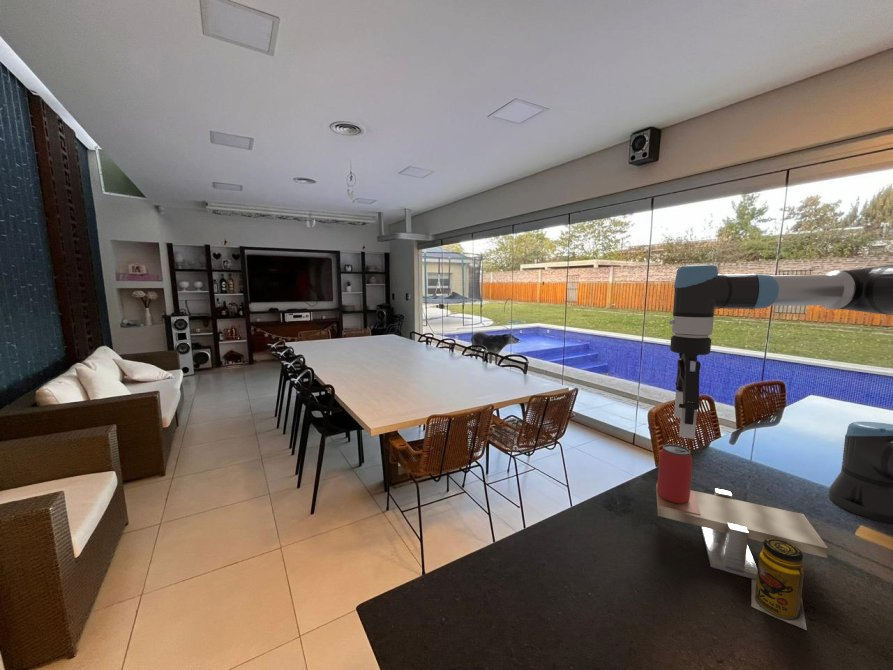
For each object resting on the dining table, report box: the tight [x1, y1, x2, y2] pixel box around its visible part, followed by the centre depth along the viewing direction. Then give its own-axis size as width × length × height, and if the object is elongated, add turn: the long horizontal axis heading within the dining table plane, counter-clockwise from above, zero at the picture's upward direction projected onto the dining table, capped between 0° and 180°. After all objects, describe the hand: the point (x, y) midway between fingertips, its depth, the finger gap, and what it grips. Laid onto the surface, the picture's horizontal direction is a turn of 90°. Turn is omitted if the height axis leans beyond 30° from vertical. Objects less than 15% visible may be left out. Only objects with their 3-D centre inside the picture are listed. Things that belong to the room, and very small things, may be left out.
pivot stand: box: [700, 488, 758, 581], centre depth 81 cm, size 8×17×10 cm, turn 152°
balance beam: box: [655, 482, 829, 559], centre depth 81 cm, size 28×12×2 cm, turn 62°
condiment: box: [750, 538, 808, 631], centre depth 67 cm, size 7×8×12 cm
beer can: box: [656, 443, 694, 504], centre depth 85 cm, size 7×7×12 cm
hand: (683, 427), depth 83 cm, fingers open, 13 cm apart
